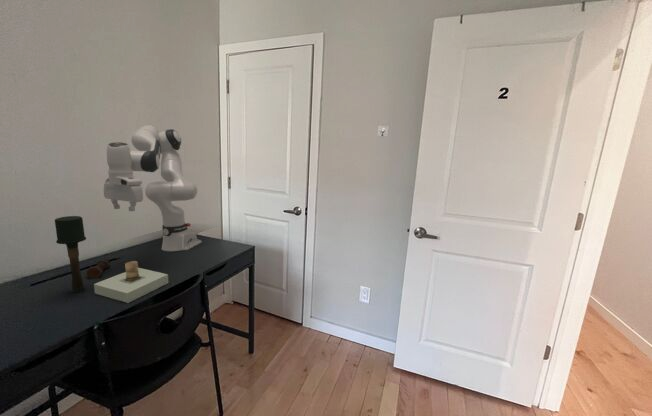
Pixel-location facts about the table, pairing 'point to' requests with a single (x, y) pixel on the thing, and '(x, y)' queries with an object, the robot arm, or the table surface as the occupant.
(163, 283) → the board
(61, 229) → the grenade
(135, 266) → the peg
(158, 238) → the table surface
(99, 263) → the bolt
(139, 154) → the robot arm
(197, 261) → the table surface
